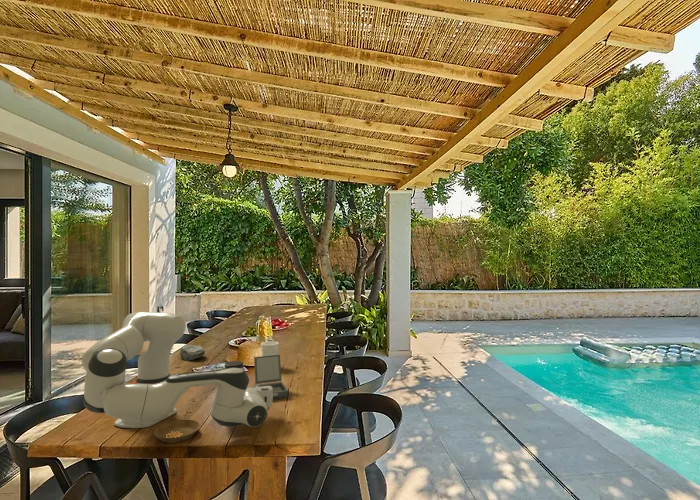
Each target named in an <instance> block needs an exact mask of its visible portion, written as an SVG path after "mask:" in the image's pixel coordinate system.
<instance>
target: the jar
mask: <svg viewBox="0 0 700 500" xmlns="http://www.w3.org/2000/svg"><path fill="white" fill-rule="evenodd" d="M228 368H244V362H243V361H240V360H232V361H227V362H225V363H224V369H228Z"/></svg>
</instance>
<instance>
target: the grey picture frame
mask: <svg viewBox="0 0 700 500" xmlns="http://www.w3.org/2000/svg"><path fill="white" fill-rule="evenodd" d="M253 365H254V385H255V384H257V385H259V384H267V383H275V382H282V372H281V371H282V368H281V355H280V354H277V355H271V356H262V355H261V356H254V357H253Z"/></svg>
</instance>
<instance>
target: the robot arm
mask: <svg viewBox="0 0 700 500" xmlns="http://www.w3.org/2000/svg"><path fill="white" fill-rule="evenodd" d="M185 330H186V322H185V320H184V318H183V317H182V316H181V315H178V314H176V313H175V314H174V313H171V312H154V311H153V312H152V311H137V312H132V313H129V314H128V315H126V316H125V317H124V319H123V320H122V325H121V328H119V329H117V330H116V331H114V332H112V333H110V334H109V335H107V336H105V337H103V338H102V339H100V340H99V341H97V342H96V343H94V344H93V345H91V347H89V348H88V349H87V350H86V351H84V353H83V355H82V357H81V365H82V367H83V369H84V370H85V372H86V373H85V377H84V387H83V394H82V403H83V406H84V408H85V409H87V410H88V411H90V412H91V413H95V414H105V415H106V416H108V417H110V418H115V419H116V420H115V421H114V424H113V425H114V426H116V427H119V428H125V429H126V428H127V429H140V428H141V429H143V428H149V427H151V426H153V425H155V424H157V423H158V422H161V421H162V420H164V419H167V418H168V417H170V416H172V415H174V414H176V413H177V412H178V411H177V408H175V406H176V404H177V403H178V402H179V400H180V398H181V397H182V396H183V394H184V393H185V392H186V391H188V390H189V389H191V388H194V387H202V386H203V387H204V386H213V385H216V386H217V387H216V392H215V395H214V400H213V404H212V409H211V415H210V416H211V418H212V420H214V421H215V422H216V424H218V425H219V426H222V427H226V428H227V427H229V428H234V427H238V426H239V427H240V426H241V425H246V426H247V427H250V428H251V427H252V428H257V427H259V426H261V425H263V423H265V421H266V419H267V417H268V408H269V407H272V406H273V401H274V400H273V388H272V386H262V387H259V386H254V385H252V387H251V386H249V383H250V377H249V375H248V374H247V371H246V370H245V371H246V372H245V371H244V370H243V369H239V368H228V369H225V368H223V369H218V370H205V371H194V372H193V371H192V372H183V373H176V374H171V373H170V356H171V352H172V349H173V347H174V345H175V344H176V342H178V340H180V339H181V338H182V337H183V335H184V334H185ZM146 342H149V344H148V347H147V350H145V351H143V352H142V353H141V351H142V350H143V348H144V343H146ZM140 353H141V354H140ZM138 354H140V355H139V357H138V358H137V360H138V361H137V377H136V380H135V381H131V382H130V383H129V382H127V381H125V380H126V373H127V372H126V370H127V367H128V361H129V360H131V359H133V357H135V356H137V355H138ZM248 386H249V387H248Z"/></svg>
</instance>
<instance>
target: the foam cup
mask: <svg viewBox="0 0 700 500" xmlns="http://www.w3.org/2000/svg"><path fill="white" fill-rule="evenodd" d="M279 344H280V343H279V342H278V341H263V342H261V343H260V349H261V356H271V355H278V352H279V347H280V345H279Z"/></svg>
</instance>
